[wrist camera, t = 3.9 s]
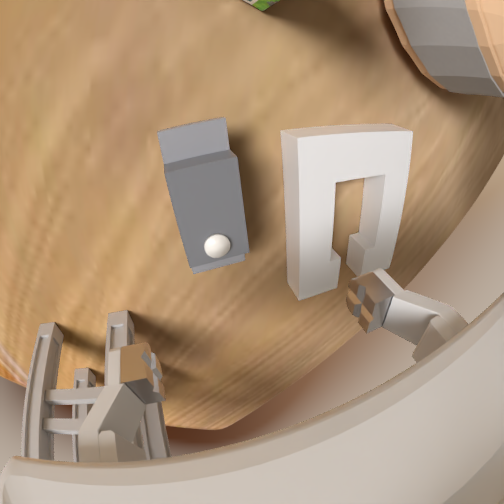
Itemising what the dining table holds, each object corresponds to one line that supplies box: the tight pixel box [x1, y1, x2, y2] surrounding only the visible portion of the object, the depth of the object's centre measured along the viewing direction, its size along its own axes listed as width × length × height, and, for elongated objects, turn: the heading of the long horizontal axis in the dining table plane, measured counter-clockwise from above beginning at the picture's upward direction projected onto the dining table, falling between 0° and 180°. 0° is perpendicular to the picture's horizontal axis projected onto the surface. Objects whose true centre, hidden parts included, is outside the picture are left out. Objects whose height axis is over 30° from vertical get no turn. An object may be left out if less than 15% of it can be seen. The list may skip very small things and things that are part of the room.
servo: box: [157, 117, 249, 274], centre depth 18 cm, size 10×4×6 cm, turn 6°
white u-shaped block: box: [280, 124, 413, 301], centre depth 25 cm, size 16×12×3 cm
